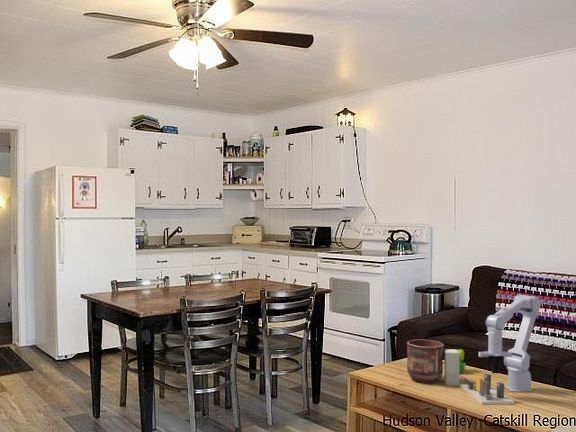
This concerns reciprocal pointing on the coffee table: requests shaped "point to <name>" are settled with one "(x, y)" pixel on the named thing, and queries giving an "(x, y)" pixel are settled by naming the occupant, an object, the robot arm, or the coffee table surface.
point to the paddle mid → (479, 383)
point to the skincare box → (451, 367)
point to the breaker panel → (495, 394)
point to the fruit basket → (461, 364)
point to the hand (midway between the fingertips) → (494, 373)
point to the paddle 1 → (467, 381)
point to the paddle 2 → (486, 388)
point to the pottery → (425, 360)
